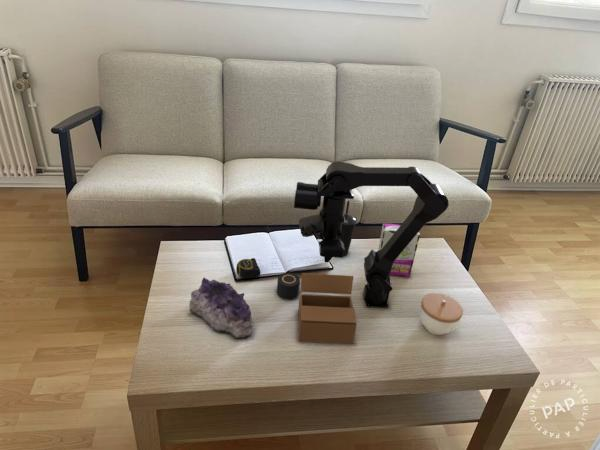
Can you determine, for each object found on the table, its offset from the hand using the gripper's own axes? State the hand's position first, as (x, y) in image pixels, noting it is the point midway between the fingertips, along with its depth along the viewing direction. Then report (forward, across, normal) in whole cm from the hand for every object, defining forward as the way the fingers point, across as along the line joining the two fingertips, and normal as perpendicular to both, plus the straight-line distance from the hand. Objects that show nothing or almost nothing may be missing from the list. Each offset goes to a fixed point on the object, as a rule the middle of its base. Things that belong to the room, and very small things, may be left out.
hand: (326, 259), depth 115 cm
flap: (+3, +7, 0) cm, 8 cm away
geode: (+13, +11, -27) cm, 32 cm away
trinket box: (+13, +11, +31) cm, 35 cm away
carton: (+13, +13, 0) cm, 18 cm away
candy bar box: (+13, -14, +24) cm, 31 cm away
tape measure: (+13, -9, -22) cm, 27 cm away
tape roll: (+13, 0, -10) cm, 16 cm away
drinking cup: (+13, -23, +8) cm, 28 cm away
